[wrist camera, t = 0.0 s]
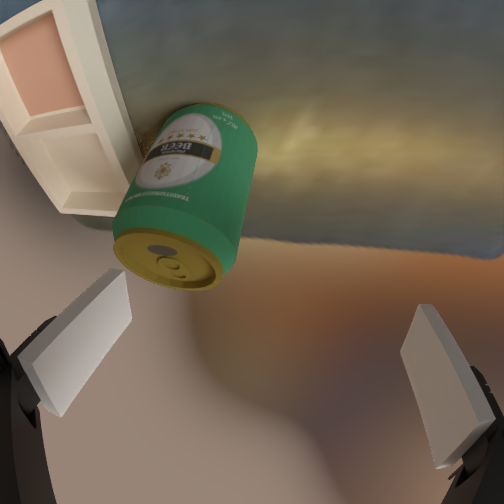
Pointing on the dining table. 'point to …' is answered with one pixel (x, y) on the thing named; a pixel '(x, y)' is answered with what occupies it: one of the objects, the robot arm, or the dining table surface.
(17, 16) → the divided tray
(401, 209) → the dining table surface
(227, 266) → the beverage can
